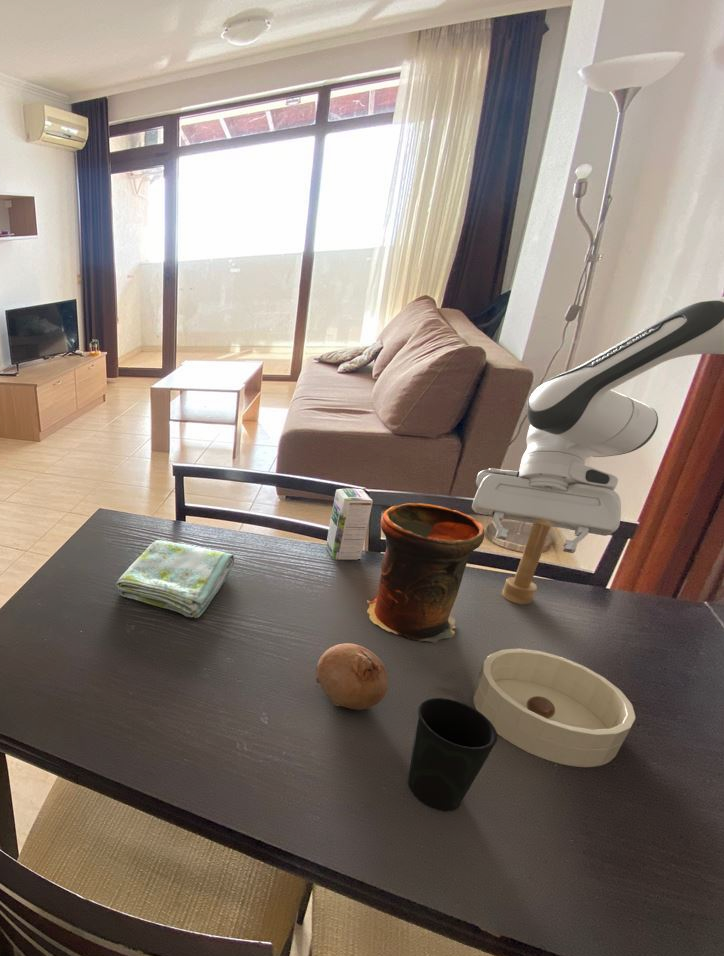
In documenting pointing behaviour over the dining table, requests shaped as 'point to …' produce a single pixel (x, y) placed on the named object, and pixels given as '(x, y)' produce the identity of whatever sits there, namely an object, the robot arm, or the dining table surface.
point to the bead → (541, 706)
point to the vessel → (423, 569)
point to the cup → (448, 751)
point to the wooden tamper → (528, 565)
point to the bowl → (575, 700)
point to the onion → (352, 676)
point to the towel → (176, 577)
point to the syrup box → (348, 524)
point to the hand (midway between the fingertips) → (533, 544)
